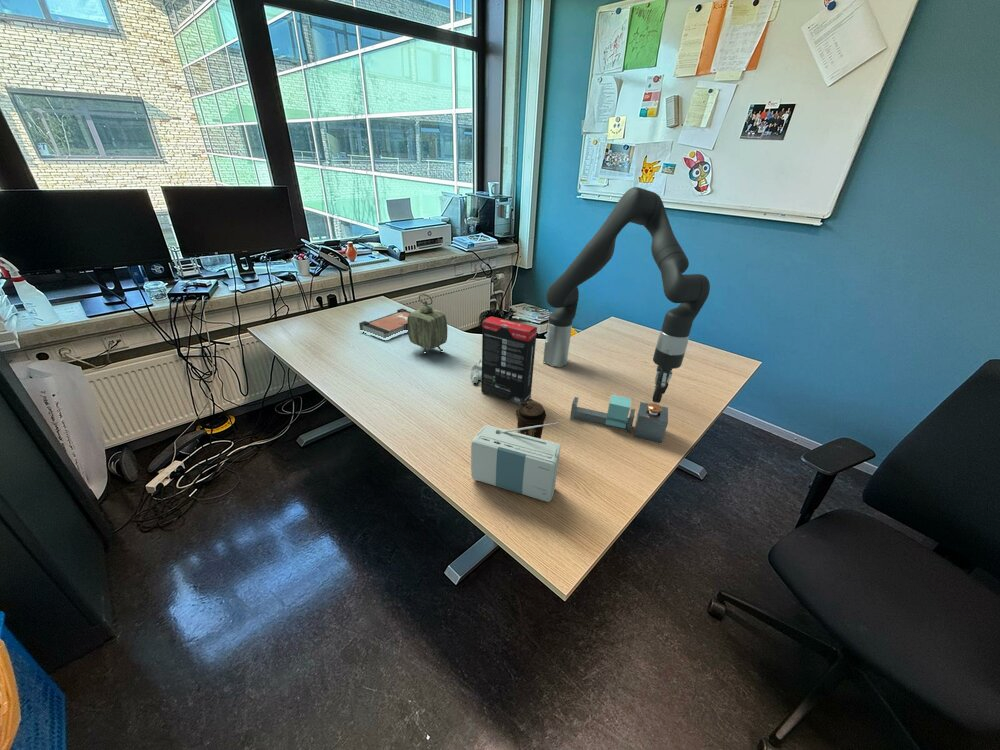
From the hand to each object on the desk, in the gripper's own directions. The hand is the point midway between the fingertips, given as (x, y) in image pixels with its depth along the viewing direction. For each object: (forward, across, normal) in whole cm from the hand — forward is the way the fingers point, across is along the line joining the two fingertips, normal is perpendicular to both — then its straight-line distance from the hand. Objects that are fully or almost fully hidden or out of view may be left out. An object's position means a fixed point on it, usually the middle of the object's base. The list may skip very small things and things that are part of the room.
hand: (656, 401), depth 116 cm
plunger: (+9, 0, 0) cm, 9 cm away
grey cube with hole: (+12, 0, 0) cm, 12 cm away
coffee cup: (+12, +20, -32) cm, 40 cm away
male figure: (+13, -18, -61) cm, 65 cm away
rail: (+12, 0, -14) cm, 18 cm away
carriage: (+10, 0, -10) cm, 14 cm away
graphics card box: (+12, -3, -47) cm, 49 cm away
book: (+13, -39, -116) cm, 124 cm away
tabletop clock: (+12, -23, -89) cm, 93 cm away
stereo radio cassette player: (+12, +36, -31) cm, 49 cm away
